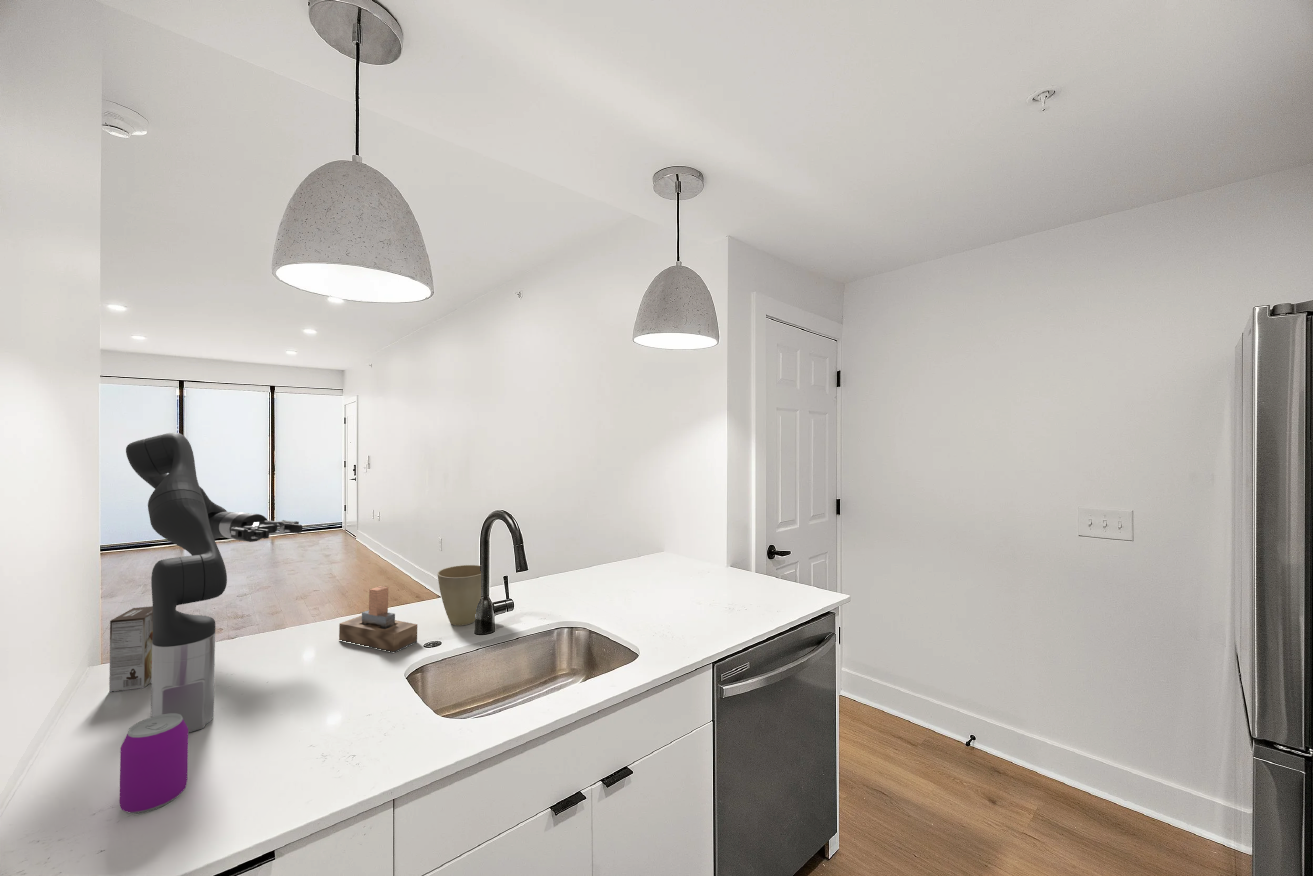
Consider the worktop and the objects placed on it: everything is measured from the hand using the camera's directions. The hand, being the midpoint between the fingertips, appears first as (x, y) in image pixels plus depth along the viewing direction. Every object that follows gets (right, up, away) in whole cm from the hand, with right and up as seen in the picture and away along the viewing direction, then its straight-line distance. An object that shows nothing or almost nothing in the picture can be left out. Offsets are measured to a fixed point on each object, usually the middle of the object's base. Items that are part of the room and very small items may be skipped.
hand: (284, 531), depth 136 cm
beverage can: (+19, -33, -54) cm, 66 cm away
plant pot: (+37, -33, +25) cm, 56 cm away
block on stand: (+20, -32, +9) cm, 39 cm away
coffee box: (-22, -32, -17) cm, 42 cm away
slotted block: (+20, -32, +9) cm, 39 cm away
